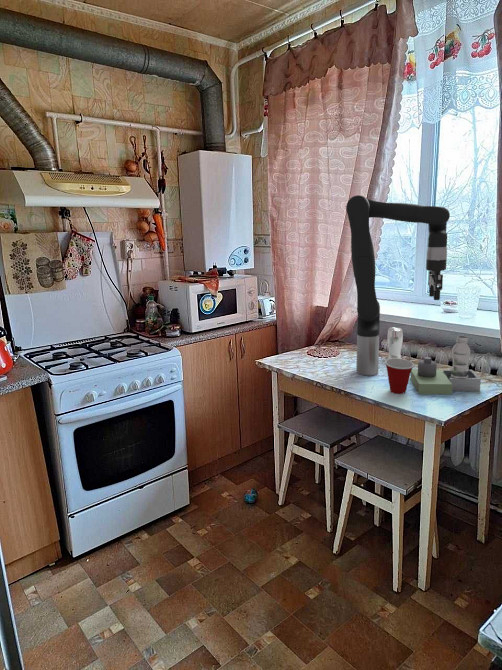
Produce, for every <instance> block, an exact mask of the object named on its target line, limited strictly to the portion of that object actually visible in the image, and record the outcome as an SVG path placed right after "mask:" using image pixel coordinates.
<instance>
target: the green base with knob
mask: <svg viewBox="0 0 502 670" xmlns="http://www.w3.org/2000/svg"><path fill="white" fill-rule="evenodd" d="M437 365H438V364H437V362H436V361H434V360H432V358H431V356H423V359H421V360H418V362H417V368H412V370H411V373H410V377H409V379H410V380H411V382H412V383H413V386H414V388H415V389H416V392H417V394H419V395H453V391H452V383H451V382H450V380H449V379H448V378H447V376H446V375H445V374H444V372H443V369H441V368H437V367H438V366H437Z"/></svg>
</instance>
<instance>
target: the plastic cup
mask: <svg viewBox="0 0 502 670" xmlns="http://www.w3.org/2000/svg"><path fill="white" fill-rule="evenodd" d="M384 365H385V366H386V372H387V377H388V384H389V385H388V386H389V390H390V392H391V393H392V394H397V395H402V394H405V393H407V392H406V391H407V388H408V384H409V381H410V377H411V370H412V369H414V368H415V367H414V366H415V364H414V362H413V361H411V360H408V359H405V358H401V359H398V358H391V359H388V358H387V359H385V360H384Z"/></svg>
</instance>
